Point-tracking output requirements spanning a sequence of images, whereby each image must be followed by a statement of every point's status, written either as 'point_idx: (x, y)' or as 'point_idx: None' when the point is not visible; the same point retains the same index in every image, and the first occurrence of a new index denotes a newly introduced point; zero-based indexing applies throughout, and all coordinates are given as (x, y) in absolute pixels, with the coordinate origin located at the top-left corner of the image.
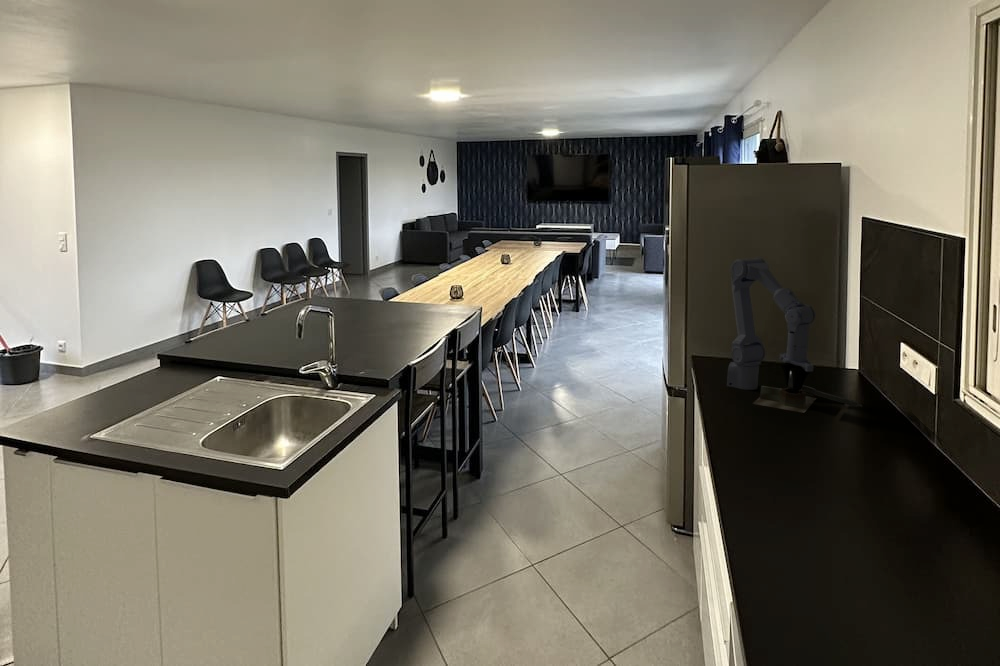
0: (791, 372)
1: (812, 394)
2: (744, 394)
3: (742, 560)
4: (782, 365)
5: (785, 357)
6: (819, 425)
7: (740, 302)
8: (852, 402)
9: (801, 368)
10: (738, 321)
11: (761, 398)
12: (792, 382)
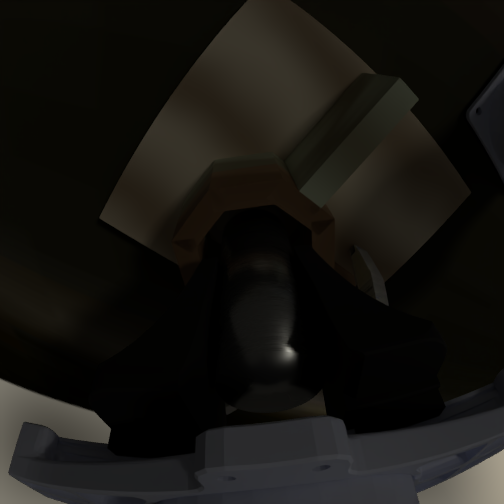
0: (242, 350)
1: None
2: (468, 65)
3: None
4: (389, 342)
5: (420, 466)
6: (12, 226)
7: None
8: (225, 404)
9: (110, 441)
10: None
11: (357, 78)
12: (228, 285)
